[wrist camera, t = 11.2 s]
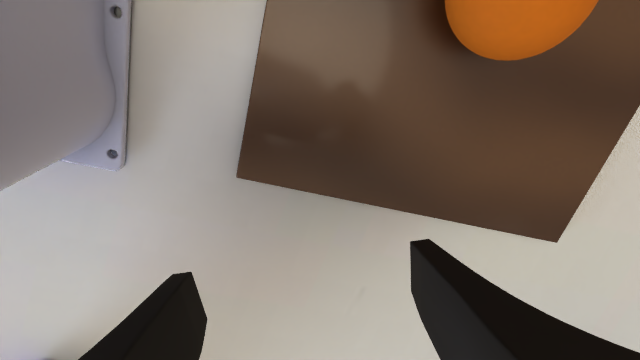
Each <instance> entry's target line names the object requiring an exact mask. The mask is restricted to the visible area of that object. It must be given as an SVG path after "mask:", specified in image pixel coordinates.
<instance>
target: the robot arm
mask: <svg viewBox="0 0 640 360" xmlns="http://www.w3.org/2000/svg"><path fill="white" fill-rule="evenodd" d="M117 6H118V7H119V8H120V9H121V11H122V15H121V17H120V18H118V17H117V16H116V15H115V13H114V9H115V7H117ZM130 23H131V0H0V191H1V190H3V189H5V188H7V187H9V186H11V185H13V184H15V183H17V182H19V181H20V180H22V179H24V178H26V177H28V176H30V175H32V174H34V173H36V172H37V171H39V170H41V169H43V168H45V167H47V166H49V165H51V164H53V163H55V162H56V161H58V160H60V161H65V162H70V163H75V164H80V165H85V166H90V167H95V168H100V169H106V170H111V171H117V170H120V169H121V168H122V167H123V166H124V164H125V149H126V124H127V99H128V74H129V48H130ZM111 149H113V150H115V151H116V152H117V154H118V156H114V155H113V154H112V153H111ZM410 252H411V292H412V295H413V298H414V301H415V304H416V307H417V309H418V312H419V315H420V318H421V320H422V322H423V324H424V327H425V329H426V331H427V333H428V335H429V337H430V339H431V341H432V343H433V345H434V347H435V349H436V351H437V353H438V355H439V357H440V359H441V360H640V353H638V352H635V351H633V350H630V349H627V348H625V347H622V346H619V345H617V344H614V343H612V342H609V341H607V340H604V339H602V338H599V337H597V336H594V335H592V334H590V333H587V332H585V331H583V330H581V329H578V328H576V327H574V326H572V325H569V324H567V323H565V322H563V321H560V320H558V319H556V318H554V317H552V316H550V315H548V314H546V313H544V312H542V311H540V310H538V309H536V308H534V307H533V306H531V305H529V304H527V303H525V302H523V301H521V300H519V299H518V298H516V297H514V296H512V295H511V294H509V293H507V292H506V291H504V290H502V289H501V288H499V287H497V286H496V285H494V284H492V283H491V282H489V281H488V280H486V279H485V278H483V277H482V276H480V275H479V274H477V273H476V272H474V271H473V270H471V269H470V268H468V267H467V266H465V265H464V264H463V263H461V262H460V261H458V260H457V259H456V258H454V257H453V256H451V255H450V254H449V253H447V252H446V251H445V250H443V249H442V248H441V247H439V246H438V245H436V244H435V243H434V242H432V241H431V240H430V239H425V240H418V241H411V242H410ZM206 324H207V317H206V314H205V311H204V308H203V305H202V302H201V299H200V296H199V293H198V290H197V287H196V284H195V281H194V278H193V275H192V272H186V273H179V274H173V275H171V276H170V277H169V278H168V279H167V280H166V281H165V282H163V283H162V284H161V285H160V286H159V287H158V288H157V289H156V290H155V291H154V292H153V293H152V294H151V295H150V296H149V297H148V298H147V299H146V300H144V301H143V302H142V303H141V304H140V305H139V306H138V307H137V308H136V309H135V310H134V311H133V312H132V313H131V314H130V315H129V316H128V317H126V318H125V319H124V320H123V321H122V322H121V323H120V324H119V325H118V326H117V327H115V328H114V329H113V330H112V331H111V332H110V333H109V334H107V335H106V336H105V337H104V338H103V339H102V340H101V341H99V342H98V343H97V344H96V345H95V346H94V347H93V348H91V349H90V350H89V351H88V352H87V353H85V354H84V355H83V356H82V357H81V358H79V359H78V360H199V358H200V354H201V351H202V346H203V341H204V336H205V330H206Z"/></svg>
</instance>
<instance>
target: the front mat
mask: <svg viewBox="0 0 640 360" xmlns="http://www.w3.org/2000/svg"><path fill="white" fill-rule="evenodd" d="M639 105H640V0H598V2H597V4H596V6H595V7H594V9H593V10H592V12H591V13H590V15H589V16H588V17H587V18H586V20H585V21H584V22H583V23H582V24H581V26H580V27H579V28H578V29H577V30H576V31H575V32H574V33H572V34H571V35H570V36H569V37H567V38H566V39H565V40H564V41H562V42H561V43H559V44H558V45H556V46H555V47H553V48H551V49H549V50H547V51H545V52H543V53H541V54H538V55H535V56H532V57H528V58H524V59H520V60H511V61H503V60H494V59H489V58H485V57H482V56H480V55H477V54H476V53H474V52H472V51H470V50H469V49H468V48H466V47H465V46H464V45H463V44H462V43H461V42H460V41H459V40H458V39H457V37H456V36H455V34H454V33H453V31H452V29H451V27H450V25H449V22H448V19H447V15H446V9H445V0H267V2H266V8H265V14H264V20H263V25H262V31H261V37H260V43H259V48H258V54H257V60H256V66H255V72H254V77H253V83H252V89H251V95H250V100H249V106H248V112H247V118H246V124H245V129H244V135H243V141H242V147H241V152H240V158H239V164H238V170H237V176H236V177H237V178H242V179H247V180H252V181H256V182H261V183H266V184H271V185H276V186H281V187H286V188H291V189H296V190H301V191H306V192H310V193H315V194H320V195H325V196H330V197H335V198H340V199H345V200H350V201H355V202H360V203H364V204H369V205H374V206H379V207H384V208H389V209H394V210H399V211H404V212H409V213H414V214H418V215H423V216H428V217H433V218H438V219H443V220H448V221H453V222H458V223H463V224H468V225H472V226H477V227H482V228H487V229H492V230H497V231H502V232H507V233H512V234H517V235H522V236H526V237H531V238H536V239H541V240H546V241H551V242H556V243H557V242H558V240H559V238H560V237H561V235H562V233H563V232H564V230H565V228H566V227H567V225H568V223H569V222H570V220H571V218H572V217H573V215H574V213H575V212H576V210H577V208H578V207H579V205H580V203H581V202H582V200H583V198H584V197H585V195H586V193H587V192H588V190H589V188H590V187H591V185H592V183H593V182H594V180H595V178H596V177H597V175H598V174H599V172H600V170H601V169H602V167H603V165H604V164H605V162H606V160H607V159H608V157H609V155H610V154H611V152H612V150H613V149H614V147H615V145H616V144H617V142H618V140H619V139H620V137H621V135H622V134H623V132H624V130H625V129H626V127H627V125H628V124H629V122H630V120H631V119H632V117H633V115H634V114H635V112H636V110H637V109H638V107H639Z"/></svg>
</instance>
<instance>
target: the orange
mask: <svg viewBox="0 0 640 360" xmlns="http://www.w3.org/2000/svg"><path fill="white" fill-rule="evenodd" d="M597 2H598V0H445V9H446V15H447V19H448V22H449V25H450V27H451V29H452V31H453V33H454V34H455V36H456V37H457V39H458V40H459V41H460V42H461V43H462V44H463V45H464V46H465V47H466V48H468V49H469V50H470V51H472V52H474V53H476V54H477V55H480V56H482V57H485V58H489V59H494V60H503V61H511V60H520V59H524V58H528V57H532V56H535V55H538V54H541V53H543V52H545V51H547V50H549V49H551V48H553V47H555V46H556V45H558V44H559V43H561V42H562V41H564V40H565V39H566V38H567V37H569V36H570V35H571V34H572V33H574V32H575V31H576V30H577V29H578V28H579V27H580V26H581V24H582V23H583V22H584V21H585V20H586V18H587V17H588V16H589V15H590V13H591V12H592V10H593V9H594V7H595V6H596V4H597Z"/></svg>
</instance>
